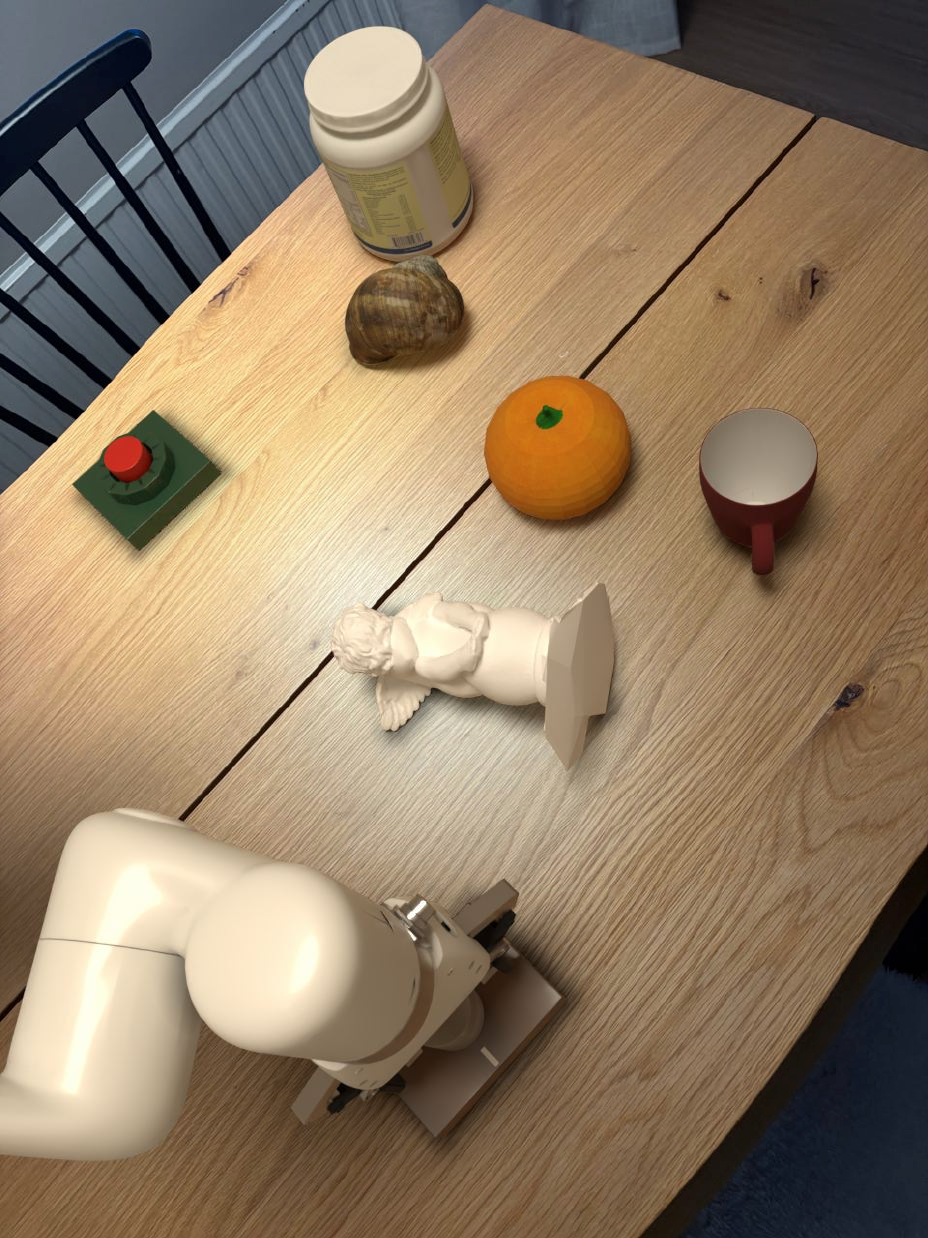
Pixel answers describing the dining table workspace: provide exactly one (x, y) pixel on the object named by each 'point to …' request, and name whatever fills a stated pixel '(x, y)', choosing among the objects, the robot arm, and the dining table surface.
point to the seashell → (403, 311)
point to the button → (127, 459)
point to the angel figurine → (486, 659)
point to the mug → (758, 478)
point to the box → (149, 482)
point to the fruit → (557, 447)
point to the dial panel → (480, 1045)
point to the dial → (460, 1026)
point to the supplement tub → (388, 143)
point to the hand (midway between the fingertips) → (441, 1011)
